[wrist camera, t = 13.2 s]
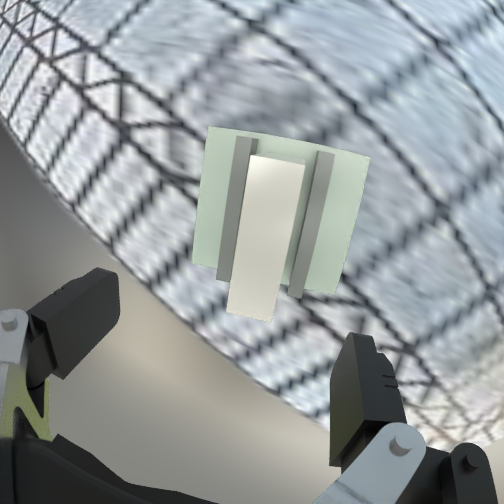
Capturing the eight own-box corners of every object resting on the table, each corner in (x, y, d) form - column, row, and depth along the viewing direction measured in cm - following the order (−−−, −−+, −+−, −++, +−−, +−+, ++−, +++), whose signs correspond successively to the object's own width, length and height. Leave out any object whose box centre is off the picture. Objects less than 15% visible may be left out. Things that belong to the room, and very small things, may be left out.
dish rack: (366, 156, 24) (378, 158, 20) (333, 287, 29) (336, 311, 25) (213, 127, 25) (196, 124, 21) (196, 257, 30) (180, 275, 26)
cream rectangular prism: (305, 159, 24) (305, 165, 15) (282, 268, 27) (271, 322, 19) (269, 152, 24) (250, 155, 16) (250, 261, 28) (226, 312, 19)
